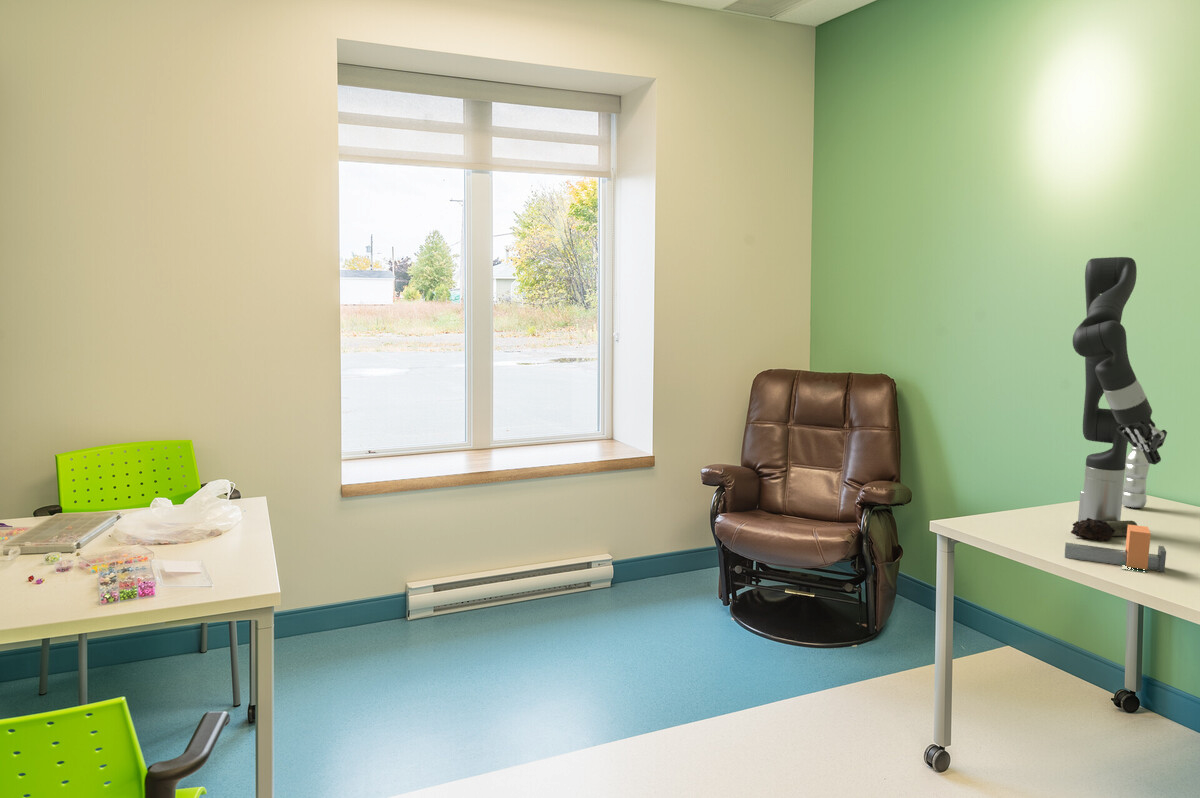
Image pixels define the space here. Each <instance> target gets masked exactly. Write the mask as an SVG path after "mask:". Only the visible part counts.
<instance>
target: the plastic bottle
mask: <svg viewBox="0 0 1200 798" xmlns="http://www.w3.org/2000/svg"><path fill="white" fill-rule="evenodd" d="M1130 445H1131V444H1130ZM1130 449H1131V450H1130V451H1129V452H1128V453H1127V454H1126V463H1125V475H1124V487H1123V498H1122V506H1124V507H1127V508H1130V507H1131V509H1142V508H1144V507H1145V506H1146V504H1147V501H1148V500H1147V494H1146V493H1147V492H1146V491H1147V489H1146V488H1147V479H1148V472H1149V469H1150V465H1151V464H1150V463H1148V461H1147V459H1146V457H1145V455H1144V453H1143V451H1141V450H1140V449H1139V447H1133V446H1132V445H1131V446H1130Z"/></svg>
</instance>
